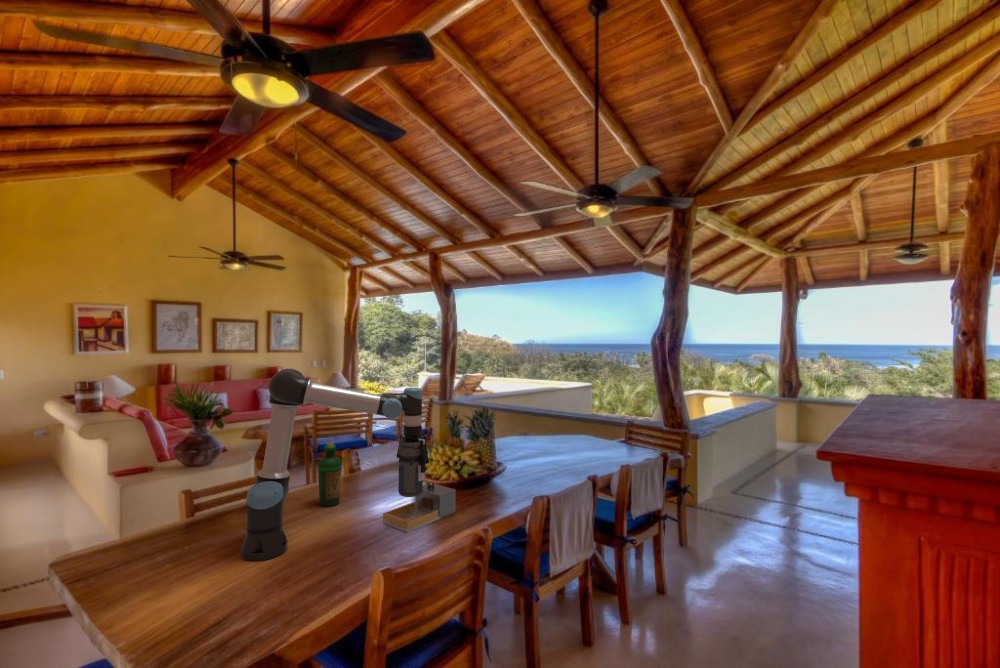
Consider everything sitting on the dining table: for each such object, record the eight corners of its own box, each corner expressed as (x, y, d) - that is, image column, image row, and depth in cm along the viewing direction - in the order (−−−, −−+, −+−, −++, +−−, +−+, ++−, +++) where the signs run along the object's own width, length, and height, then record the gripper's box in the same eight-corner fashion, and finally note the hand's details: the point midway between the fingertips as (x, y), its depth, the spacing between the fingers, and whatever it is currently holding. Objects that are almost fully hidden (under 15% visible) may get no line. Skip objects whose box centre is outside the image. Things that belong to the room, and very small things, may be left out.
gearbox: (407, 532, 190) (407, 502, 190) (382, 523, 199) (383, 494, 199) (455, 512, 212) (455, 485, 212) (431, 504, 221) (431, 478, 221)
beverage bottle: (432, 492, 203) (432, 433, 203) (407, 500, 193) (408, 438, 193) (416, 487, 210) (417, 430, 210) (391, 494, 200) (392, 434, 200)
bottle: (336, 508, 215) (337, 445, 215) (313, 507, 215) (314, 445, 215) (345, 500, 225) (345, 440, 225) (322, 499, 225) (323, 440, 225)
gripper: (438, 426, 197) (438, 480, 197) (401, 420, 211) (401, 470, 211) (425, 429, 191) (424, 485, 192) (388, 422, 205) (387, 474, 205)
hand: (412, 477), depth 201 cm, fingers closed on beverage bottle, 10 cm apart
